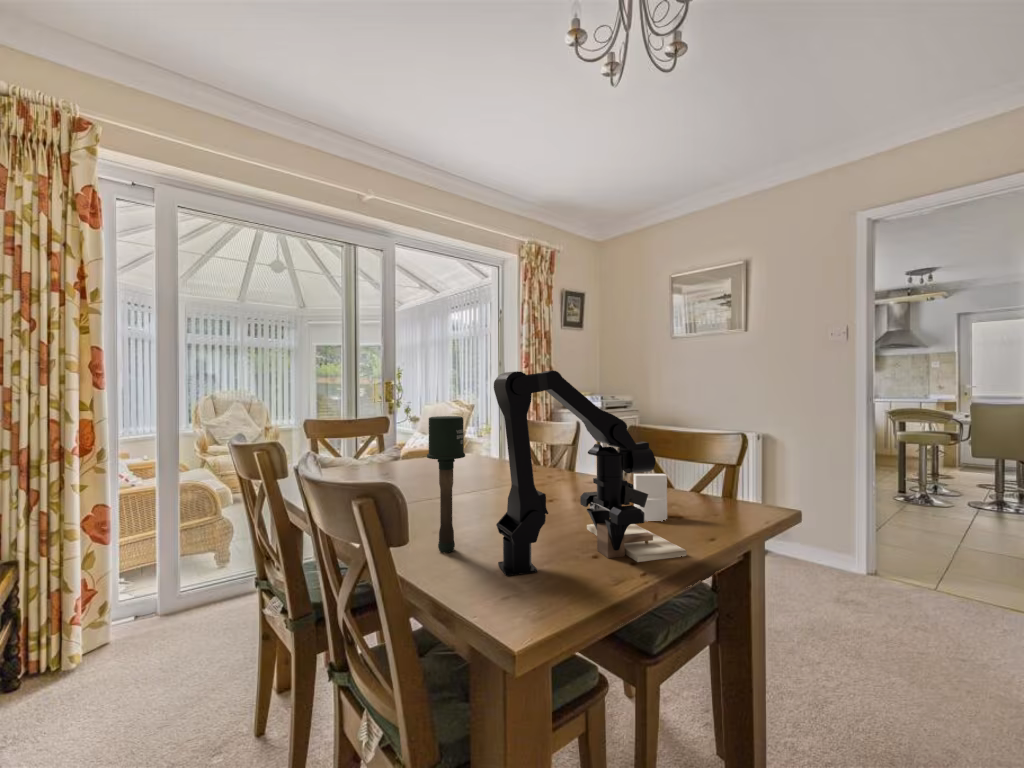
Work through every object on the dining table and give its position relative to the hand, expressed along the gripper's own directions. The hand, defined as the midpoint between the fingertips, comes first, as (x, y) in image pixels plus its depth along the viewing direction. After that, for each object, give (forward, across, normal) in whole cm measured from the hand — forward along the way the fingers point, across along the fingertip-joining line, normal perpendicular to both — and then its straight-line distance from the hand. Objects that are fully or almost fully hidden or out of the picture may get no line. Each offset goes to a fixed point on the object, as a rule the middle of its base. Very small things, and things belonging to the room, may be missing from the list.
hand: (610, 546), depth 103 cm
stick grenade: (+2, +12, +34) cm, 36 cm away
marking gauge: (+2, 0, -4) cm, 4 cm away
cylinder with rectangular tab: (+2, +23, -25) cm, 34 cm away
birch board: (+2, +6, -9) cm, 11 cm away
